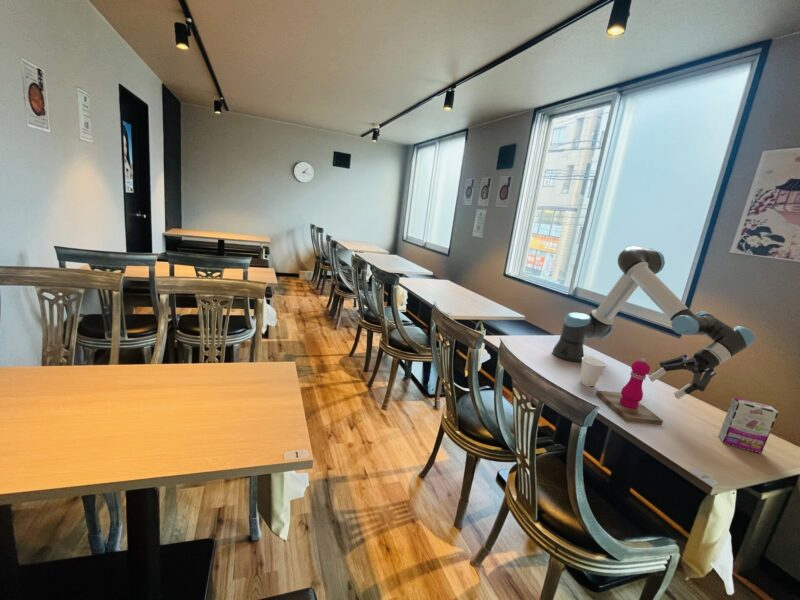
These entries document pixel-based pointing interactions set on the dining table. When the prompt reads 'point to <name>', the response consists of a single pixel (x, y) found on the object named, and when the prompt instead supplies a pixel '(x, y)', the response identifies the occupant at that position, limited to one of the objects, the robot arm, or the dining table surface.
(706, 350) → the robot arm
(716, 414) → the dining table surface
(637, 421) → the serving board
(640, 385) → the pepper mill
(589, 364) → the cup
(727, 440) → the candy bar box
